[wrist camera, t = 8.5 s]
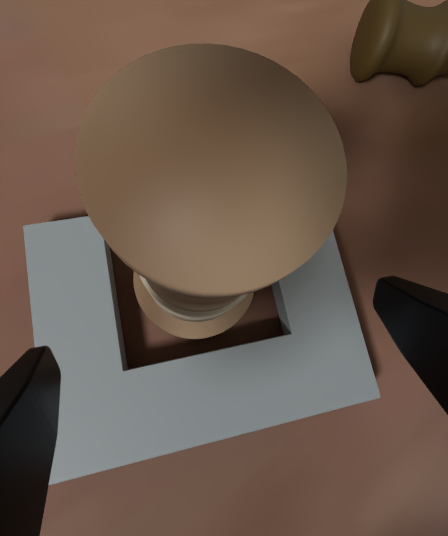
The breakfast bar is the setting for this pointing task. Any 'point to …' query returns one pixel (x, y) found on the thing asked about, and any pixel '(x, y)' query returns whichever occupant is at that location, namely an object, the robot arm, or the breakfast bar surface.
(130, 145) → the bobbin
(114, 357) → the notched board
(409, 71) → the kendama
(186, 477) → the breakfast bar surface
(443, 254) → the breakfast bar surface
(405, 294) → the robot arm
